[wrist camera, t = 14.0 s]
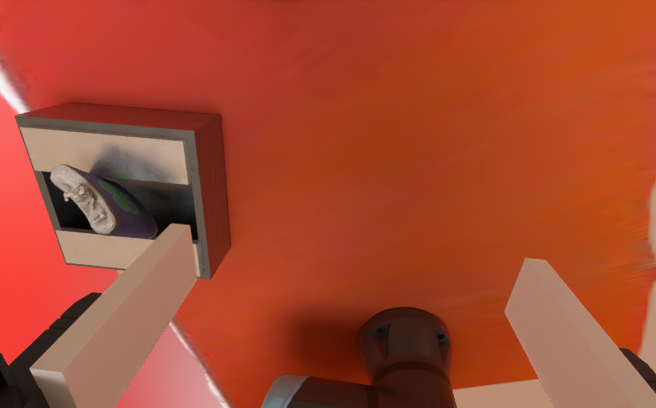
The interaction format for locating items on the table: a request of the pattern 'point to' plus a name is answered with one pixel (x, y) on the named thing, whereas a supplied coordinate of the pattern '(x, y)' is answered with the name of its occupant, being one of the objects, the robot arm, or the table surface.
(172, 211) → the open box
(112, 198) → the flask
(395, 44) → the table surface
